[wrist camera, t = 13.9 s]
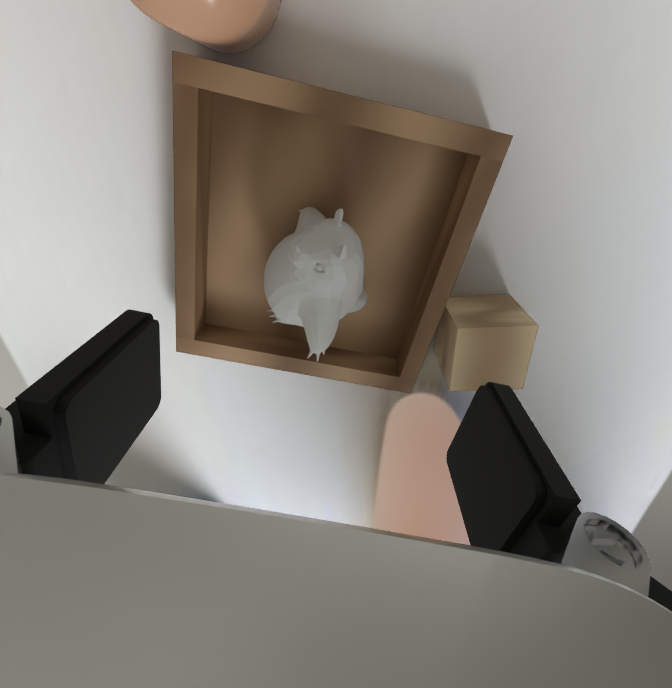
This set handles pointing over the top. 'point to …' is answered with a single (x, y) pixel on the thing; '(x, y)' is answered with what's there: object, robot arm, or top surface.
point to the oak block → (484, 342)
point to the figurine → (316, 277)
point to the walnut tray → (327, 197)
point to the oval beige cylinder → (215, 20)
